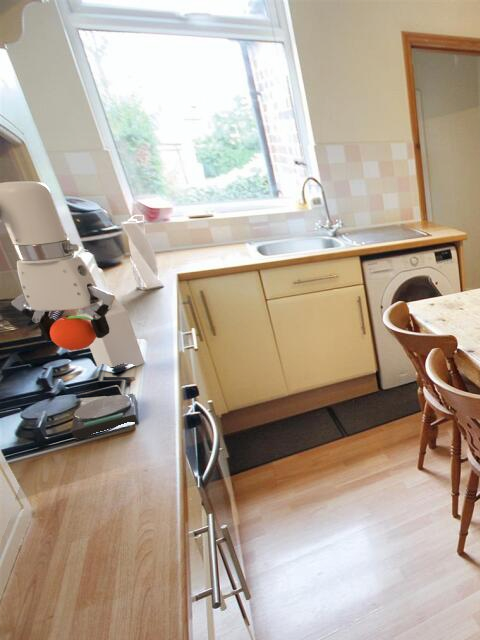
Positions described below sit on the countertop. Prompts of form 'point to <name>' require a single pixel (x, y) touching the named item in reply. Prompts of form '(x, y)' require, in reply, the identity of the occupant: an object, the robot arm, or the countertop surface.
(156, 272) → the white tapered tower
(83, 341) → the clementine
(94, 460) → the countertop surface
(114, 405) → the scale pan
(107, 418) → the scale
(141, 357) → the milk carton
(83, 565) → the countertop surface
